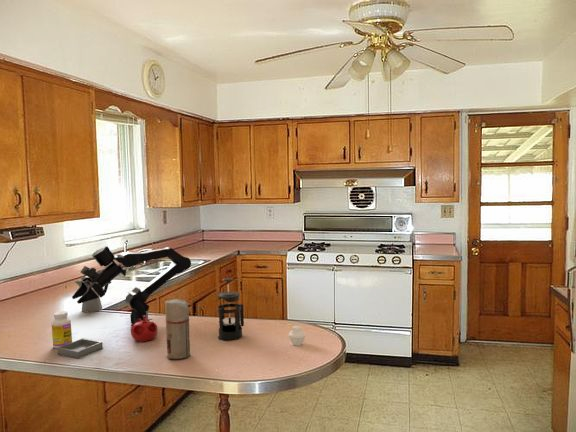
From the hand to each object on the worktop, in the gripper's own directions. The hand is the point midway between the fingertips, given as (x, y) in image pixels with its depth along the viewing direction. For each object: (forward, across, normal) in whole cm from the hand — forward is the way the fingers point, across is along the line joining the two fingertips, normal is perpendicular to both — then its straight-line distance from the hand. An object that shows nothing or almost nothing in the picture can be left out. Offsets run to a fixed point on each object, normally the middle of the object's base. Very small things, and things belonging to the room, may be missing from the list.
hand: (75, 300), depth 189 cm
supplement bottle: (+14, +7, +9) cm, 18 cm away
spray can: (-11, +47, +25) cm, 54 cm away
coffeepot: (-5, -39, +22) cm, 45 cm away
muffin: (-44, +65, +46) cm, 91 cm away
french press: (-32, +41, +38) cm, 65 cm away
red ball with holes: (-9, +21, +24) cm, 33 cm away
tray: (+10, +18, +11) cm, 24 cm away
